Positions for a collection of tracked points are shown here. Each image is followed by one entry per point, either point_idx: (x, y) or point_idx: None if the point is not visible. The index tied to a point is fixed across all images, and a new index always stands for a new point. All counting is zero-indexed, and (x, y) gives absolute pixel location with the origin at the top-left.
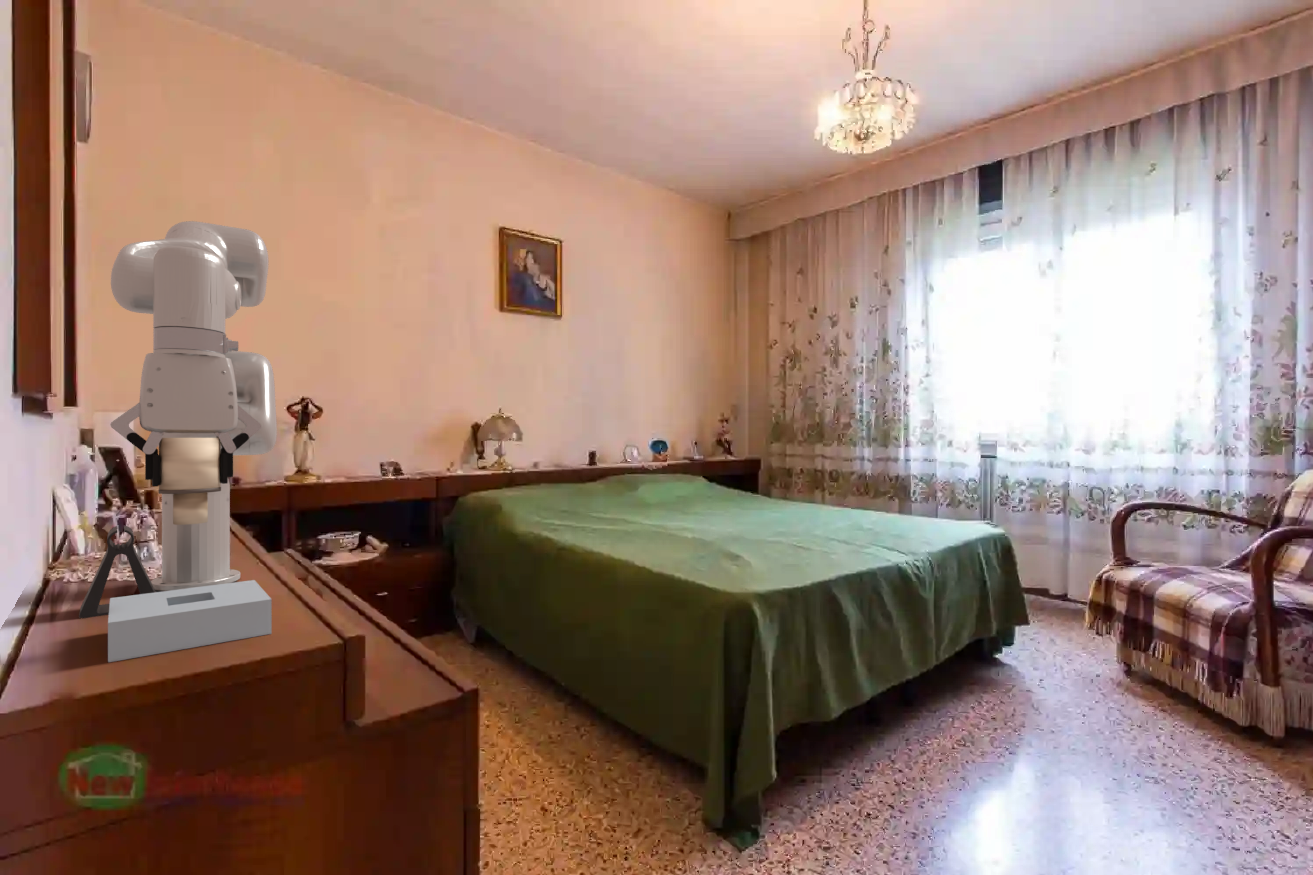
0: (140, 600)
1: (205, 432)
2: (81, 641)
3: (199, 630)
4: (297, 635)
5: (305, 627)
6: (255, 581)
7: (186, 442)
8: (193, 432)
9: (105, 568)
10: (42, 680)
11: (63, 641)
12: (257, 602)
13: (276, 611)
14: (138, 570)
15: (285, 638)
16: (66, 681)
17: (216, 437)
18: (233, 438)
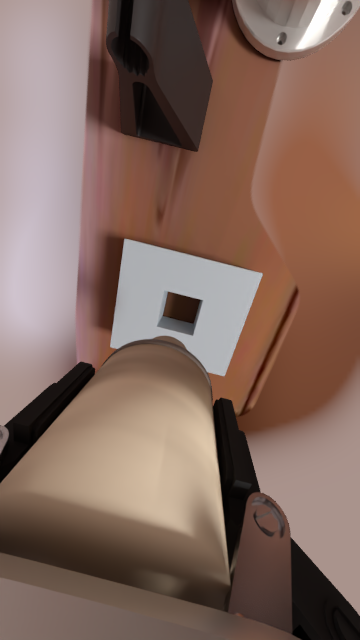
0: (144, 280)
1: (187, 615)
2: (115, 252)
3: None
4: (230, 377)
5: (245, 364)
6: (258, 284)
7: None
8: (112, 594)
9: (126, 95)
10: (89, 338)
11: (104, 238)
12: (213, 372)
13: (262, 292)
14: (169, 113)
15: (220, 377)
16: (100, 352)
17: (229, 593)
18: (299, 614)
